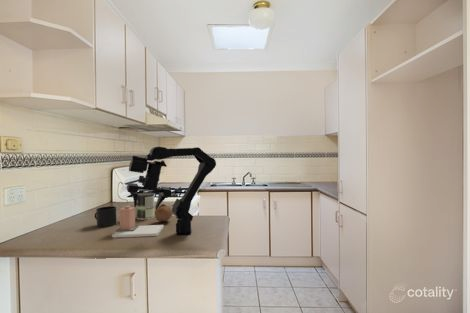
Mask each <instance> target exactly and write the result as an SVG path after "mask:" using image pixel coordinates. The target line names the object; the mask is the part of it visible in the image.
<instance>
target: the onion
mask: <svg viewBox="0 0 470 313" xmlns="http://www.w3.org/2000/svg"><path fill="white" fill-rule="evenodd" d="M154 216H155V217H154V218H155V220H156V221H157V222H161V223H162V222H163V223H165V222H168V221H169V220H170V219H171V218H172V216H173V213H172V208H171V207H170V206H168V205H166V204H164V203H163V204H162V203H161V204H160V205H159V207H158V208H157V209H154Z"/></svg>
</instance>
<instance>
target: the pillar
mask: <svg viewBox="0 0 470 313" xmlns="http://www.w3.org/2000/svg"><path fill="white" fill-rule="evenodd" d="M135 225H136V208H135V207H134V206H130V205H125V206H124V207H122V208H120V209H119V228H120V230H131V229H133V228H135Z"/></svg>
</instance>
